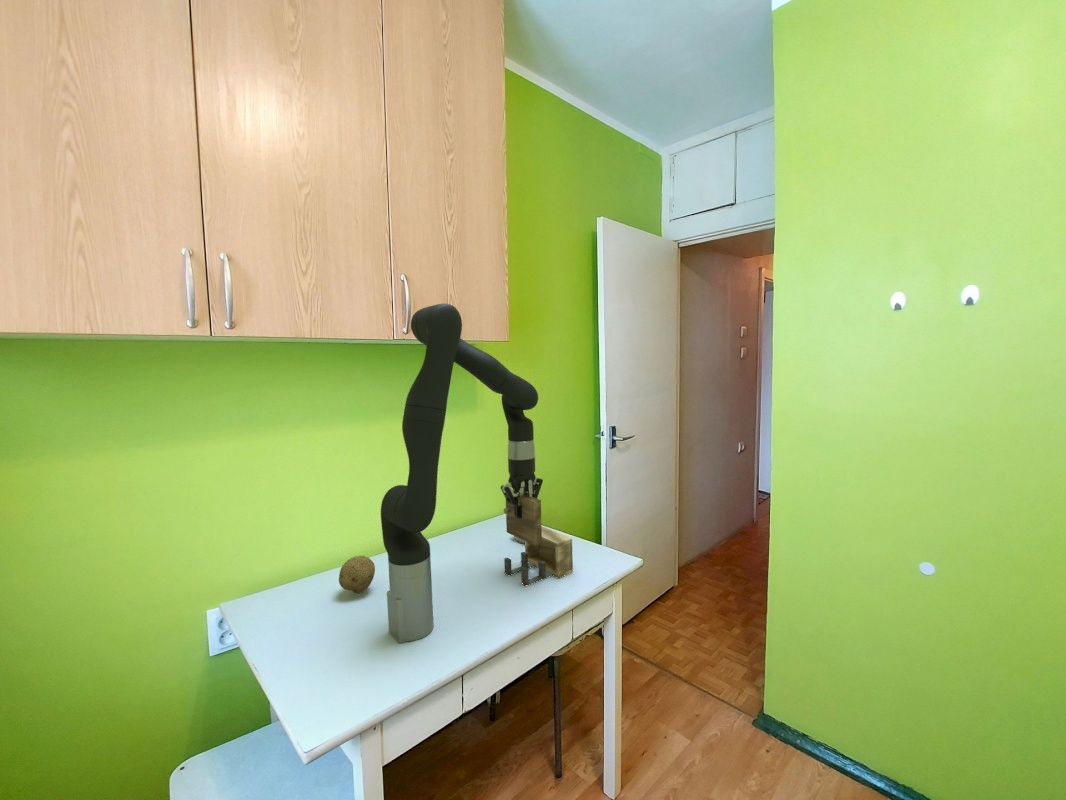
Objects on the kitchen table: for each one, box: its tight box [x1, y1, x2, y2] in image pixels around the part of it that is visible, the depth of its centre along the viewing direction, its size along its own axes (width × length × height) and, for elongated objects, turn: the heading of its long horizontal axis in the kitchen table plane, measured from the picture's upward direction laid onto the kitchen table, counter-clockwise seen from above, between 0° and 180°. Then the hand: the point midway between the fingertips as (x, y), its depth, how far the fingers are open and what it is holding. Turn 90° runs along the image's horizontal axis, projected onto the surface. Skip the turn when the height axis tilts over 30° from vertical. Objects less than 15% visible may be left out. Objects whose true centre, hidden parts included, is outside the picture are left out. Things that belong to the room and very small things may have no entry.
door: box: [503, 489, 543, 545], centre depth 129 cm, size 4×13×12 cm, turn 39°
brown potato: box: [338, 555, 376, 594], centre depth 123 cm, size 9×9×10 cm
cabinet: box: [503, 525, 574, 586], centre depth 133 cm, size 15×15×10 cm
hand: (523, 516), depth 130 cm, fingers closed on door, 2 cm apart
